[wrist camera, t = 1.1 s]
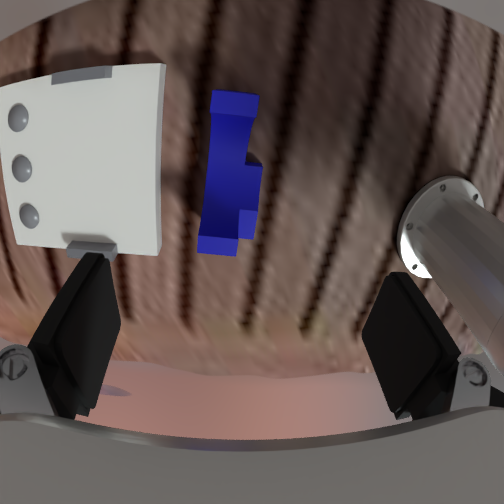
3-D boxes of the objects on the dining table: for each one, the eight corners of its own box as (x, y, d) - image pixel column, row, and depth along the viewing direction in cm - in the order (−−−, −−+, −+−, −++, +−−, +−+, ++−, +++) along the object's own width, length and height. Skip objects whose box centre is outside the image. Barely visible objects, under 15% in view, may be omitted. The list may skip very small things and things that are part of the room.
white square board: (166, 64, 21) (155, 62, 18) (161, 245, 29) (154, 264, 26) (9, 85, 19) (-12, 89, 16) (26, 235, 28) (10, 251, 25)
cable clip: (251, 224, 29) (255, 258, 24) (203, 219, 28) (197, 252, 23) (272, 96, 23) (282, 99, 18) (217, 89, 22) (212, 90, 17)
